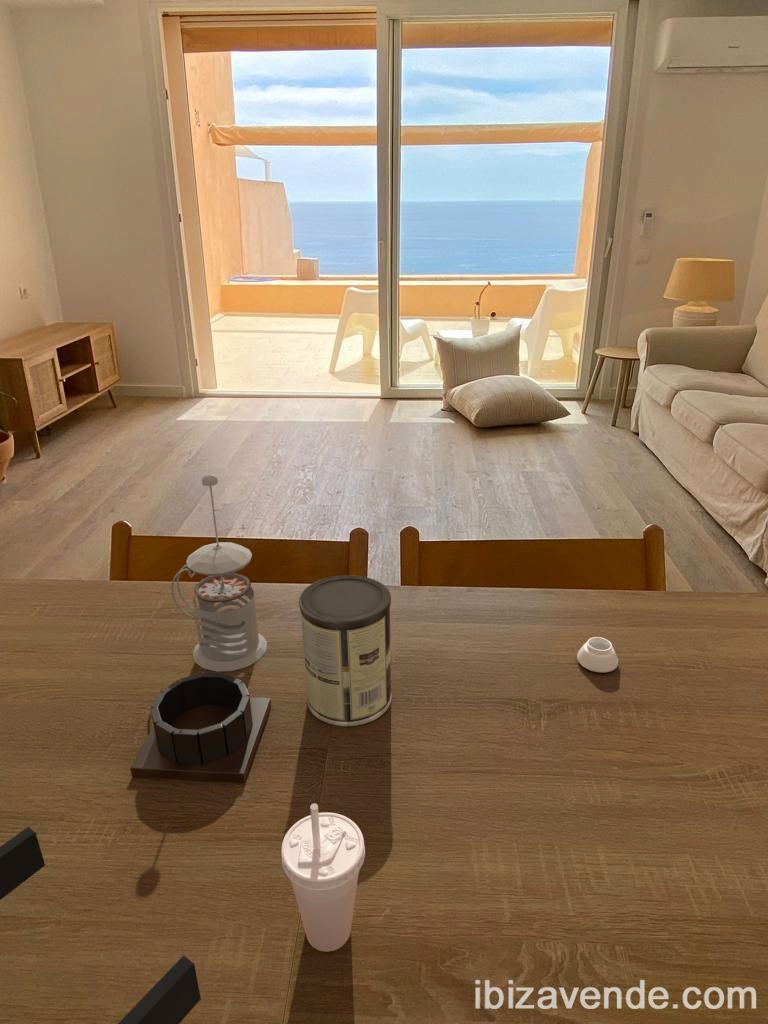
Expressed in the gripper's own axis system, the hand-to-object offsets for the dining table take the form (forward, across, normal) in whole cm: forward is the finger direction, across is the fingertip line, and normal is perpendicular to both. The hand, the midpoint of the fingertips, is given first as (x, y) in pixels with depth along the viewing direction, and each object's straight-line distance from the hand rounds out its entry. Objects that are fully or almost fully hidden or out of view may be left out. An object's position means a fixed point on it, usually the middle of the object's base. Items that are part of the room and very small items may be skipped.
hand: (108, 904), depth 38 cm
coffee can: (+40, -15, -20) cm, 47 cm away
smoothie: (+16, +1, -20) cm, 25 cm away
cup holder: (+26, -24, -20) cm, 40 cm away
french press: (+39, -35, -20) cm, 56 cm away
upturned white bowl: (+63, +8, -20) cm, 67 cm away
